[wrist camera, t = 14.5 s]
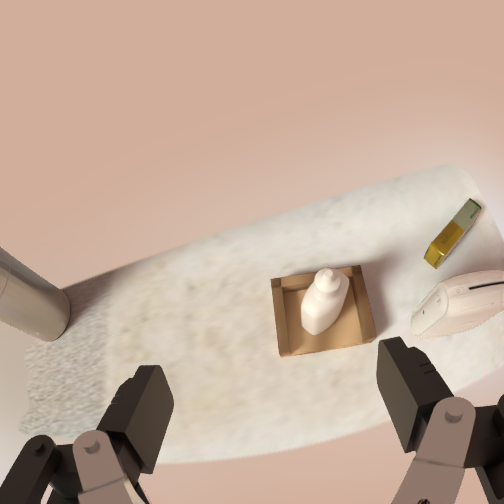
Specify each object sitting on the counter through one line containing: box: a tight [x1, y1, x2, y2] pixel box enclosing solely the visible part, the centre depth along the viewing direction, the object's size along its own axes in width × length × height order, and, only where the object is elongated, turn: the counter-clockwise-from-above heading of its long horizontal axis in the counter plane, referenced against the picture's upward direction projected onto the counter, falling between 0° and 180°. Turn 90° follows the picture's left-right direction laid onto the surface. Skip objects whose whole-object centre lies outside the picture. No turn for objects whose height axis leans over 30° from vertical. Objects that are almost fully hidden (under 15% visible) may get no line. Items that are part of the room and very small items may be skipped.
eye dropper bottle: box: [301, 268, 349, 335], centre depth 32 cm, size 4×6×12 cm
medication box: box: [424, 198, 481, 269], centre depth 38 cm, size 12×3×4 cm, turn 128°
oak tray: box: [271, 265, 376, 357], centre depth 36 cm, size 11×9×3 cm
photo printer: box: [411, 270, 504, 339], centre depth 29 cm, size 10×4×12 cm, turn 91°
